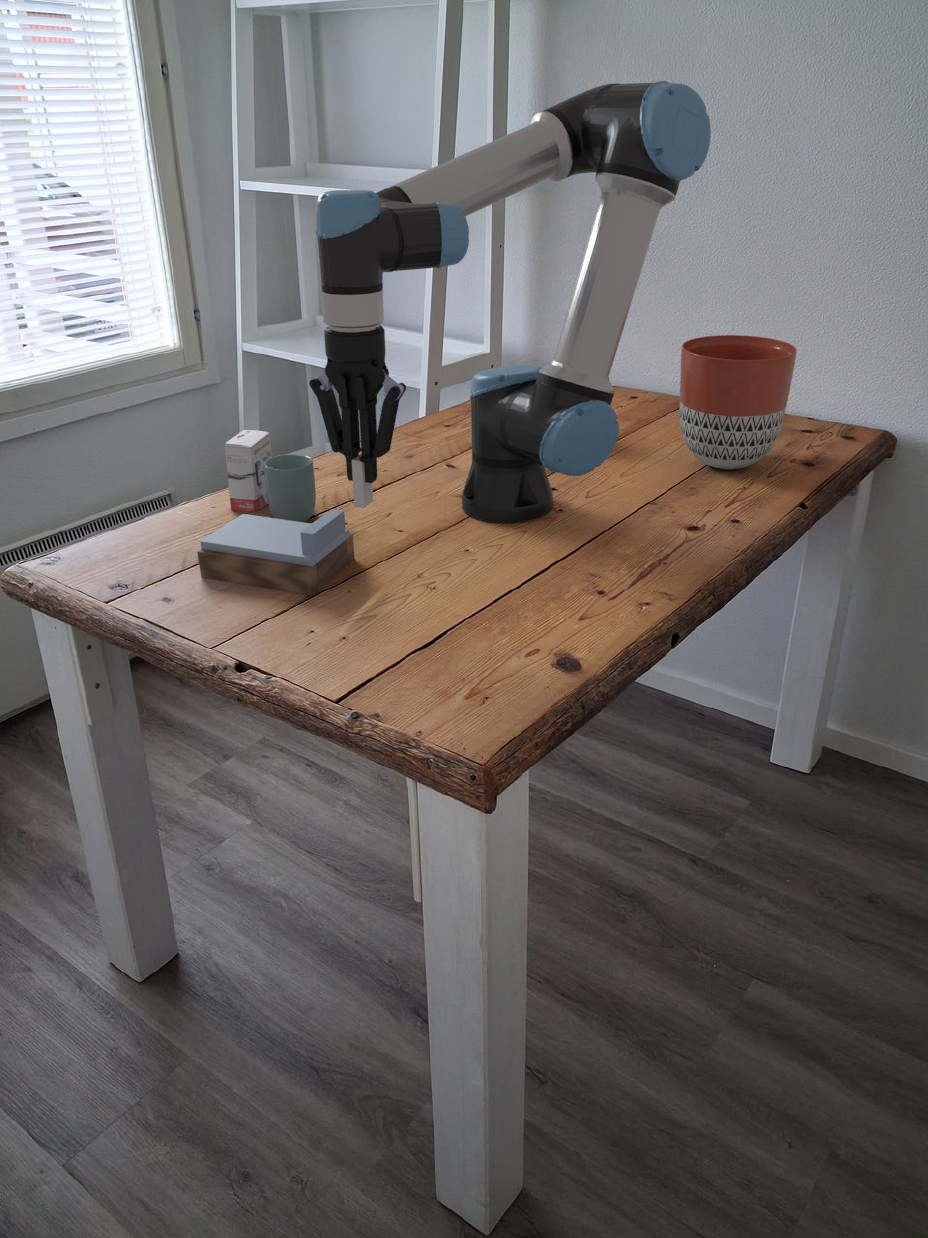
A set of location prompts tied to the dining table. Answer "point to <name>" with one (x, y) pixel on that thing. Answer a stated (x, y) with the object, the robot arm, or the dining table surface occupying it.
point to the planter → (733, 397)
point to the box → (276, 570)
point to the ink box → (247, 469)
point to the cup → (290, 487)
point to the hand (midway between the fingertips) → (363, 503)
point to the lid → (280, 538)
